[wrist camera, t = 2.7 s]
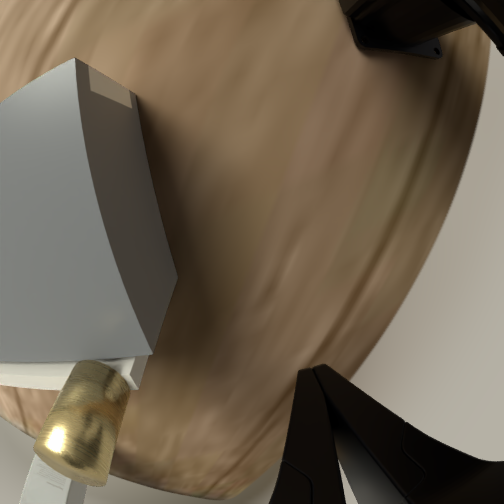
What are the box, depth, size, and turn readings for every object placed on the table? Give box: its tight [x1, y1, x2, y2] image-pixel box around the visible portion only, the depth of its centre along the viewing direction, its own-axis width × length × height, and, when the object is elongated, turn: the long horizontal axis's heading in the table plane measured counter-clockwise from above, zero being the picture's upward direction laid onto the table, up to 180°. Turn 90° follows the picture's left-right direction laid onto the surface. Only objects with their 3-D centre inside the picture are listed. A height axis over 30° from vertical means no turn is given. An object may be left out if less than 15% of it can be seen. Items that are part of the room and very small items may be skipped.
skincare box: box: [19, 454, 87, 504], centre depth 14 cm, size 6×4×12 cm
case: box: [0, 58, 178, 362], centre depth 10 cm, size 14×10×6 cm
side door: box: [0, 355, 149, 487], centre depth 10 cm, size 12×2×11 cm, turn 100°
